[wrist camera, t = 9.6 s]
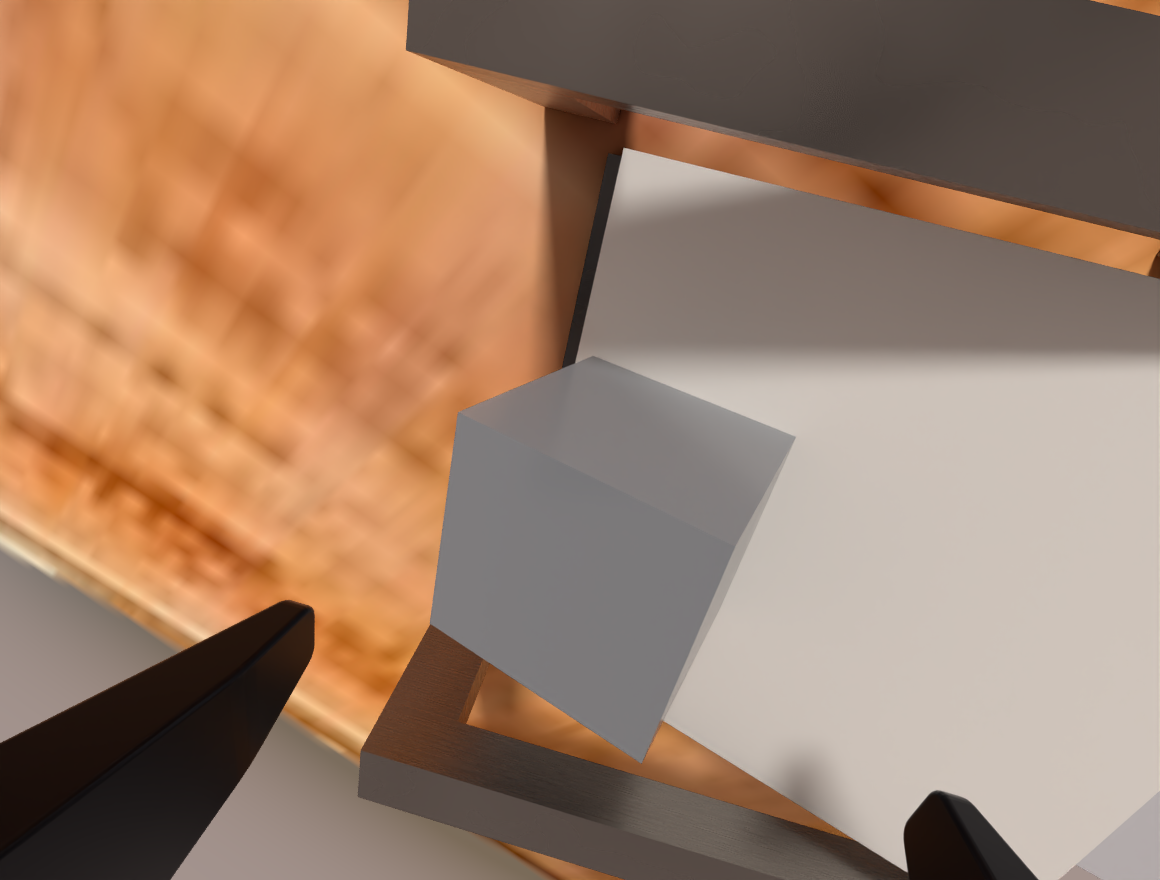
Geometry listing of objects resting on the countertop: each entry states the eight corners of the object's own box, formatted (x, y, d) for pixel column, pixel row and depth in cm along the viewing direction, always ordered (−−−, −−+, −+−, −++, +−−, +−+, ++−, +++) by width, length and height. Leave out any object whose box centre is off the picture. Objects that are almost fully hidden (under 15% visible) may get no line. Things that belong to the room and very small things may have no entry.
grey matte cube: (796, 436, 12) (735, 546, 8) (719, 609, 14) (641, 763, 10) (592, 355, 14) (457, 412, 10) (552, 521, 16) (429, 622, 12)
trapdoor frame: (1300, 190, 13) (2092, 224, 6) (913, 717, 22) (1032, 1005, 15) (559, 15, 14) (418, -150, 7) (465, 588, 23) (357, 796, 15)
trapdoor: (1669, 403, 10) (2204, 534, 6) (1136, 849, 16) (1211, 1062, 12) (698, 166, 16) (623, 147, 12) (588, 554, 22) (515, 628, 18)
